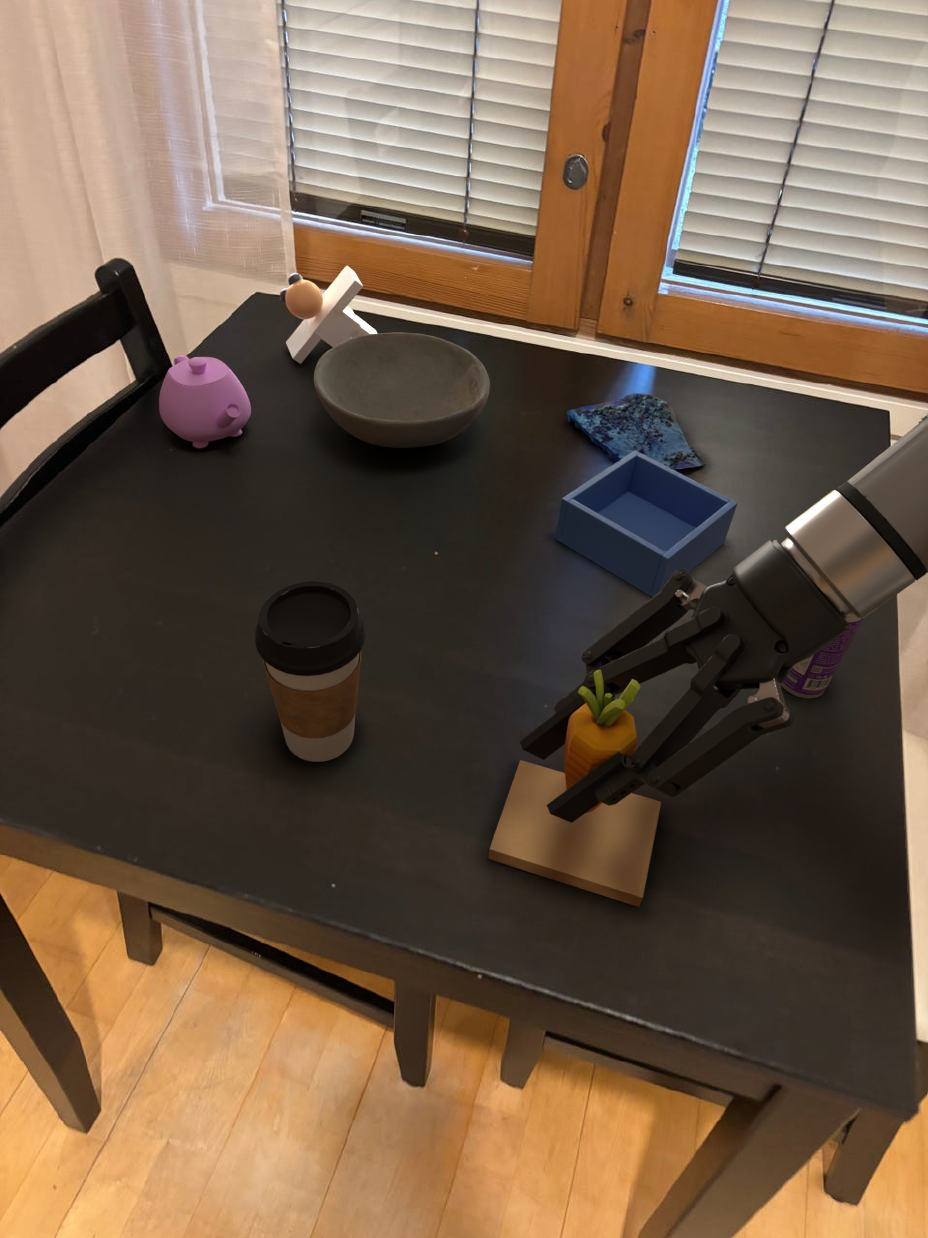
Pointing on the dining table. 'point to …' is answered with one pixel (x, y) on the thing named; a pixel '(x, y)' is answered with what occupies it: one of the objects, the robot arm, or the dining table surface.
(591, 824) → the board
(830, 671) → the container
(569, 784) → the carrot
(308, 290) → the figurine
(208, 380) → the teapot
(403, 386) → the bowl
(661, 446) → the blue flat piece
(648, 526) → the bin
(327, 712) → the coffee cup
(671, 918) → the dining table surface
